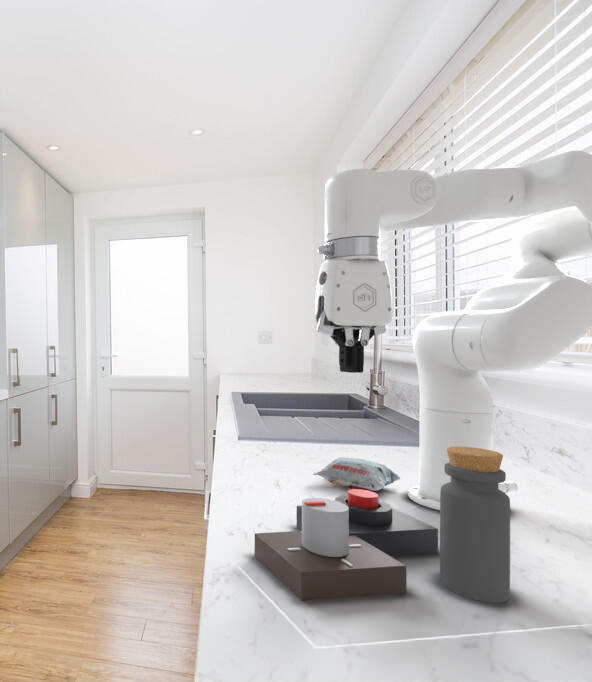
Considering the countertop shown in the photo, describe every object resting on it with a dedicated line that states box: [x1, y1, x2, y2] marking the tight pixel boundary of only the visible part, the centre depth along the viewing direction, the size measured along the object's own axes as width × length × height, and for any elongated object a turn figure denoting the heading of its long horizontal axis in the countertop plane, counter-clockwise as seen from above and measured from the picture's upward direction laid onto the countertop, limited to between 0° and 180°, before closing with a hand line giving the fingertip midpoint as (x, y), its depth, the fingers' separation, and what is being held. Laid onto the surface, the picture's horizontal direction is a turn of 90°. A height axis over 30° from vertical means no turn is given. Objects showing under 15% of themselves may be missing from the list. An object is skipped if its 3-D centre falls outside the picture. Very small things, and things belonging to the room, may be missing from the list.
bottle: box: [439, 447, 511, 604], centre depth 51 cm, size 6×6×15 cm
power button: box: [347, 488, 380, 509], centre depth 64 cm, size 4×4×2 cm
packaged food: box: [312, 456, 401, 492], centre depth 87 cm, size 9×12×5 cm
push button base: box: [296, 494, 439, 557], centre depth 64 cm, size 13×10×5 cm
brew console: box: [254, 530, 408, 602], centre depth 55 cm, size 12×10×3 cm
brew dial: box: [301, 497, 349, 557], centre depth 55 cm, size 5×5×5 cm
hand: (351, 371), depth 73 cm, fingers closed
